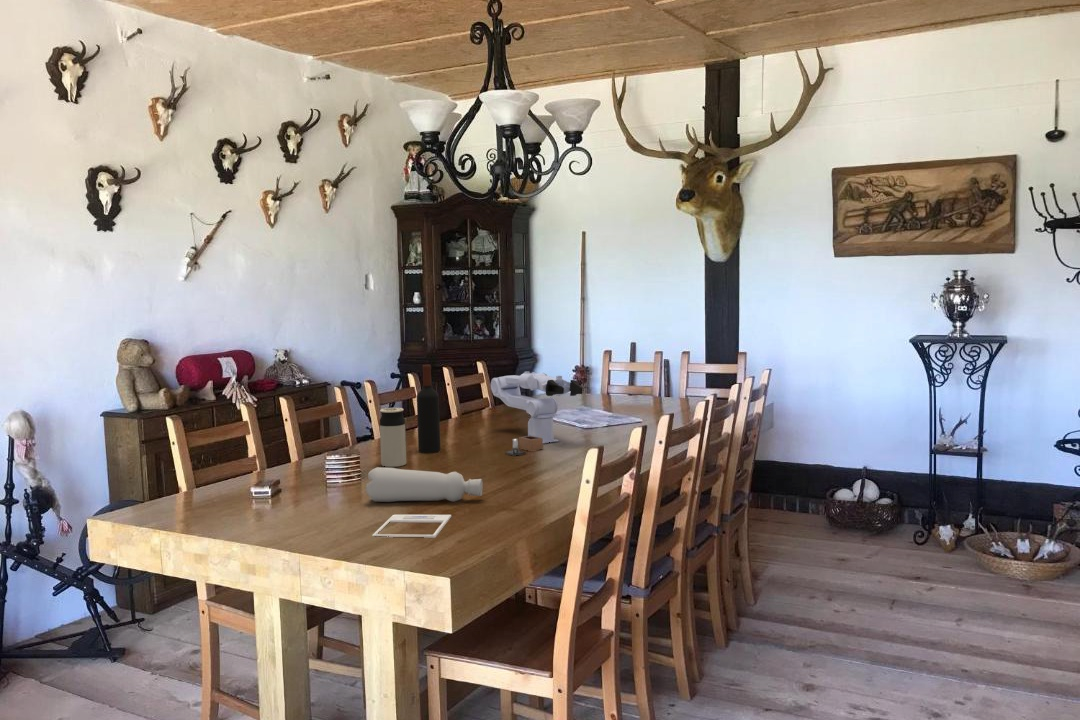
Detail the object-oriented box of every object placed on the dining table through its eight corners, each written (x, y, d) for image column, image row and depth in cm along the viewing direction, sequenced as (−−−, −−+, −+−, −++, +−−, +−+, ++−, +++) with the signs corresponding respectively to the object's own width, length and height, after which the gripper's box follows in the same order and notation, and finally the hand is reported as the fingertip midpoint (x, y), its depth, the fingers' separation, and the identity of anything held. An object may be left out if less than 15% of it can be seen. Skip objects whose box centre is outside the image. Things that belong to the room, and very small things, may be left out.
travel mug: (381, 468, 276) (379, 411, 275) (380, 463, 284) (378, 408, 282) (407, 466, 278) (405, 410, 276) (405, 461, 285) (403, 407, 284)
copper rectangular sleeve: (518, 448, 303) (518, 437, 303) (531, 446, 306) (530, 435, 306) (530, 451, 298) (530, 440, 297) (542, 449, 301) (542, 438, 300)
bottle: (363, 494, 228) (477, 498, 225) (368, 461, 232) (480, 464, 229) (371, 506, 236) (481, 509, 233) (376, 474, 240) (484, 477, 237)
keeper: (505, 454, 294) (504, 438, 294) (517, 452, 297) (517, 437, 297) (513, 456, 290) (513, 440, 290) (526, 454, 293) (525, 439, 293)
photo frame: (451, 513, 216) (434, 534, 198) (451, 518, 216) (435, 539, 198) (393, 513, 218) (372, 534, 200) (393, 518, 218) (372, 539, 200)
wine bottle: (414, 452, 301) (411, 365, 298) (425, 448, 308) (422, 363, 305) (433, 453, 298) (430, 366, 295) (444, 449, 305) (441, 363, 302)
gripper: (534, 373, 305) (555, 378, 294) (569, 374, 313) (590, 379, 301) (532, 393, 306) (553, 399, 294) (567, 393, 313) (589, 399, 302)
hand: (572, 390), depth 298 cm, fingers open, 7 cm apart
